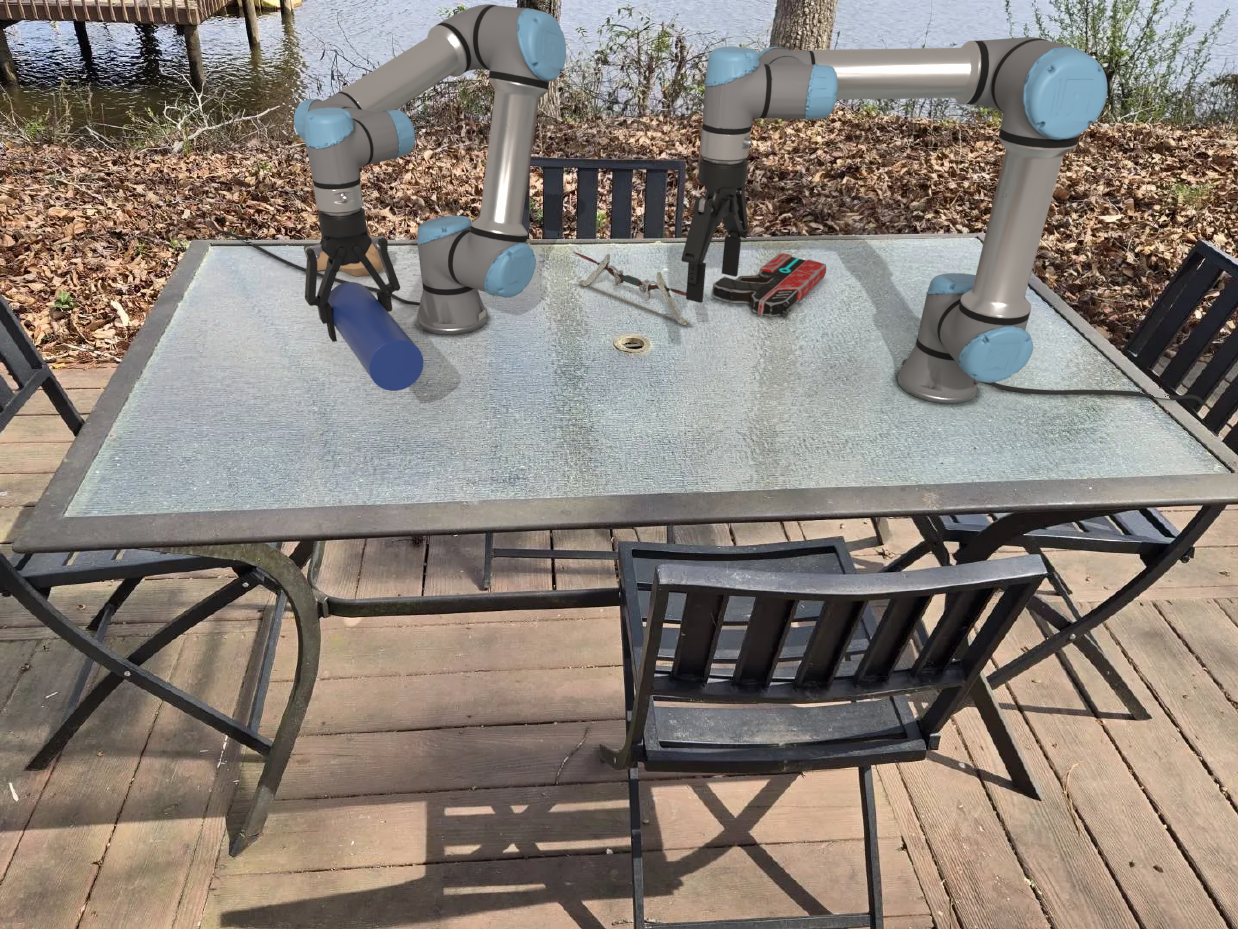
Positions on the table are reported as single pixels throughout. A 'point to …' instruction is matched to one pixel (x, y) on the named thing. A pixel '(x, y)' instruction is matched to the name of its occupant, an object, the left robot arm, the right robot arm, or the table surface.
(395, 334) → the rod
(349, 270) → the squash
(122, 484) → the table surface
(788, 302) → the gun
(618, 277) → the bow
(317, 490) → the table surface
